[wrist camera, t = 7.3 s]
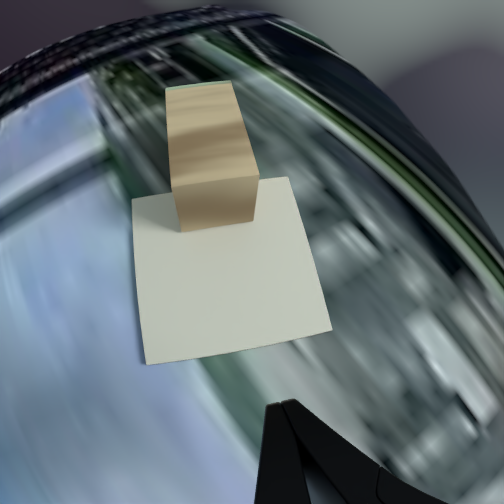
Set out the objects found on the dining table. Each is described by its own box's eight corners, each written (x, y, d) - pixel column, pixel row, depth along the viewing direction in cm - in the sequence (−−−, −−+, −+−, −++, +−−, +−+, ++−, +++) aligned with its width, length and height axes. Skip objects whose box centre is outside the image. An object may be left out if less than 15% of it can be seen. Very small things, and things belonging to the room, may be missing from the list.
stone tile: (330, 331, 20) (332, 330, 20) (148, 365, 19) (146, 364, 18) (286, 179, 25) (287, 176, 24) (133, 201, 23) (131, 199, 23)
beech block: (259, 174, 18) (230, 80, 22) (171, 187, 17) (165, 88, 21) (253, 221, 22) (229, 126, 27) (181, 232, 22) (172, 134, 26)
